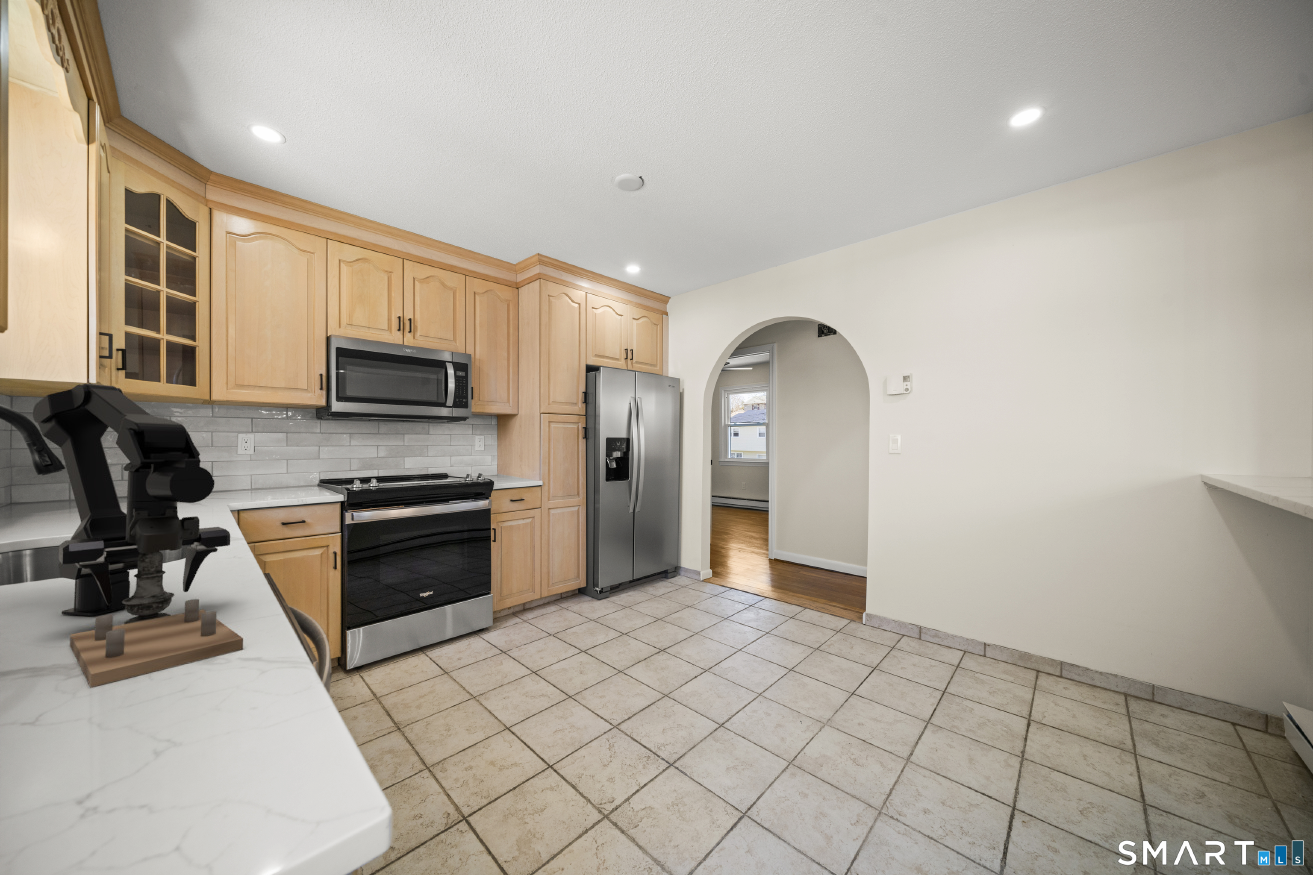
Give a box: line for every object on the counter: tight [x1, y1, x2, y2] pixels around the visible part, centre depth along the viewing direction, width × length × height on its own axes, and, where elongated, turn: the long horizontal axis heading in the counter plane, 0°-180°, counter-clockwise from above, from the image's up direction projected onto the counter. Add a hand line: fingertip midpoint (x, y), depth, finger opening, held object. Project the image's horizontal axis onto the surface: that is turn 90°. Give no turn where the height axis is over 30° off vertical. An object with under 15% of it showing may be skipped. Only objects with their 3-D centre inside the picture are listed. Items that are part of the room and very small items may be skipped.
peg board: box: [69, 598, 244, 688], centre depth 69 cm, size 20×14×4 cm
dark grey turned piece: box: [122, 551, 175, 624], centre depth 80 cm, size 6×6×12 cm
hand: (148, 597), depth 80 cm, fingers closed on dark grey turned piece, 8 cm apart
